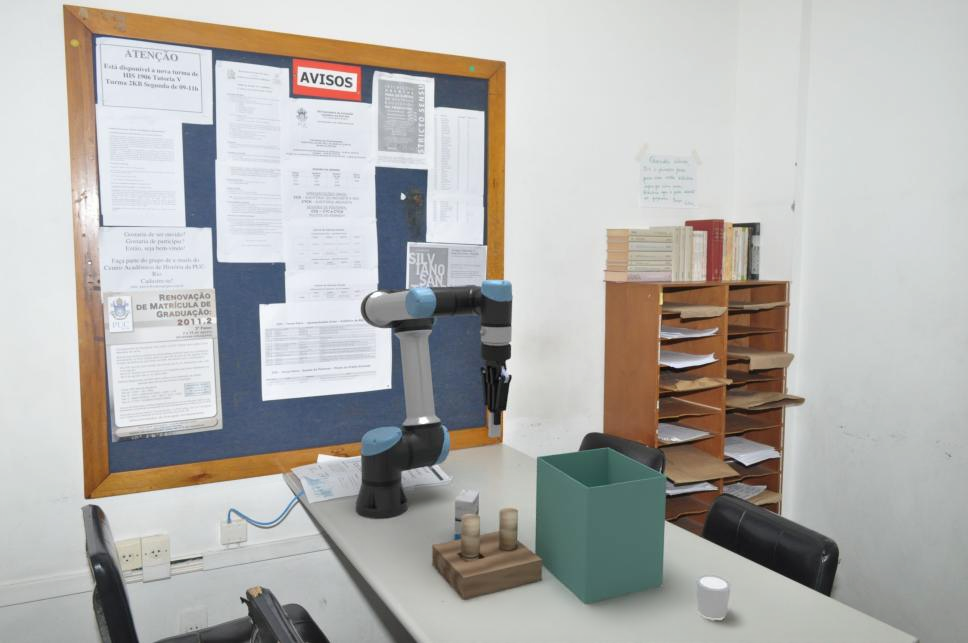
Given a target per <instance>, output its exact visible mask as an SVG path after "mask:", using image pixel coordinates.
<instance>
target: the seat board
mask: <svg viewBox="0 0 968 643" xmlns="http://www.w3.org/2000/svg"><path fill="white" fill-rule="evenodd" d="M498 514H499V519H498V521H499V522H498V523H499V525H498V527H499V529H498V530H499V531H494V532H489V533H484V534H480V552H479V559H477V560H473V561H468V562H465V561H464V560H463V559H462V552H461V539H459V540H455V539H454V540H451V541H445V542H440V543H436V544H432V546H431V549H432V550H431V554H432V557H431V558H432V560H431V561H432V562H431V564H432V566H433V567H434V568H435V570H436V571H437V572H438V573H439V574H440V576H441V577H442V578H444V580H446V582H447V583H448V584H449V585H450V586H451V587H452V588H453V590H454V591H455V592H456V593H457V594H458V595H459V596H460V597H461V598H462V600H466V599H467V600H468V599H472V598H475V597H480V596H484V595H487V594H488V595H489V594H491V593H496V592H499V591H504V590H507V589H512V588H515V587H520V586H524V585H527V584H532V583H535V582H539V581H542V579H543V577H542V576H543V575H542V574H543V565H542V559H541V558H540V557H538V556H537V555H536V554H535V552H533V551H532V550H531V549H530V548H528V547H527V546H525V544H523V543H522V542H520V541H519V540H518V533H519V532H518V531H519V530H518V528H519V527H518V523H519V521H518V520H519V512H518V509H516V508H513V507H503V508H500V509H499V513H498Z"/></svg>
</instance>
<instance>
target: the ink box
mask: <svg viewBox="0 0 968 643" xmlns="http://www.w3.org/2000/svg"><path fill="white" fill-rule="evenodd" d="M479 506H480V491H477V490H470V489H462V490H461V491H460V492H459V494H457V496H456V497H455V499H454V540H459V539H461V517H462V516H463V515H465V514H476V515H478V516H480V515H479V514H480V513H479V512H480V510H479V509H480V507H479Z"/></svg>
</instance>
